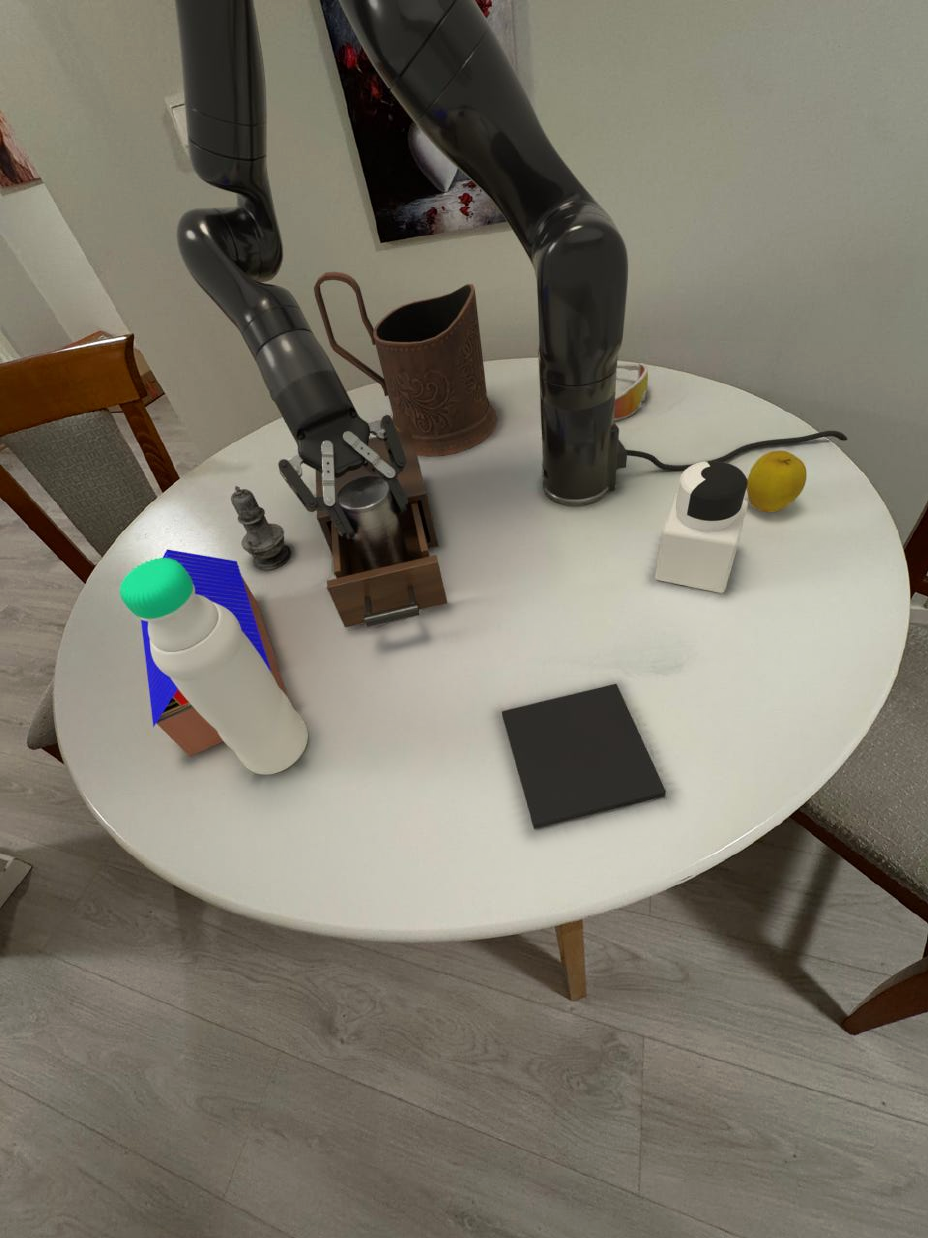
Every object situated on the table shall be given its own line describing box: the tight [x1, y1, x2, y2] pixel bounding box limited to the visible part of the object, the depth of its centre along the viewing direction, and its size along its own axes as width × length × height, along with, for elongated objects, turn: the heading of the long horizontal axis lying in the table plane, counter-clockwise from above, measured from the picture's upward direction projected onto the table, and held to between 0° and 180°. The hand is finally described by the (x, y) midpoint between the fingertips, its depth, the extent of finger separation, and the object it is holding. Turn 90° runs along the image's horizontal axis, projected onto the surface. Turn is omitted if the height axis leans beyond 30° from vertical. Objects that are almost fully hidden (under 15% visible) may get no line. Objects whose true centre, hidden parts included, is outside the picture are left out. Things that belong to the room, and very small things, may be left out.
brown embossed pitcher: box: [313, 271, 499, 457], centre depth 90 cm, size 18×24×25 cm
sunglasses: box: [614, 362, 649, 421], centre depth 96 cm, size 14×15×5 cm
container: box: [654, 460, 749, 594], centre depth 65 cm, size 8×8×13 cm
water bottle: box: [119, 557, 309, 775], centre depth 51 cm, size 7×7×25 cm
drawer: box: [326, 501, 449, 628], centre depth 70 cm, size 19×13×7 cm
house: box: [140, 548, 289, 757], centre depth 64 cm, size 12×20×12 cm, turn 26°
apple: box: [746, 449, 808, 513], centre depth 71 cm, size 6×6×8 cm
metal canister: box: [337, 476, 410, 572], centre depth 68 cm, size 6×6×11 cm
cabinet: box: [314, 429, 439, 557], centre depth 80 cm, size 16×14×9 cm
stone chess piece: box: [230, 485, 292, 571], centre depth 77 cm, size 6×6×12 cm
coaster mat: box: [501, 683, 667, 830], centre depth 55 cm, size 12×12×1 cm
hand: (377, 523), depth 65 cm, fingers closed on metal canister, 6 cm apart
